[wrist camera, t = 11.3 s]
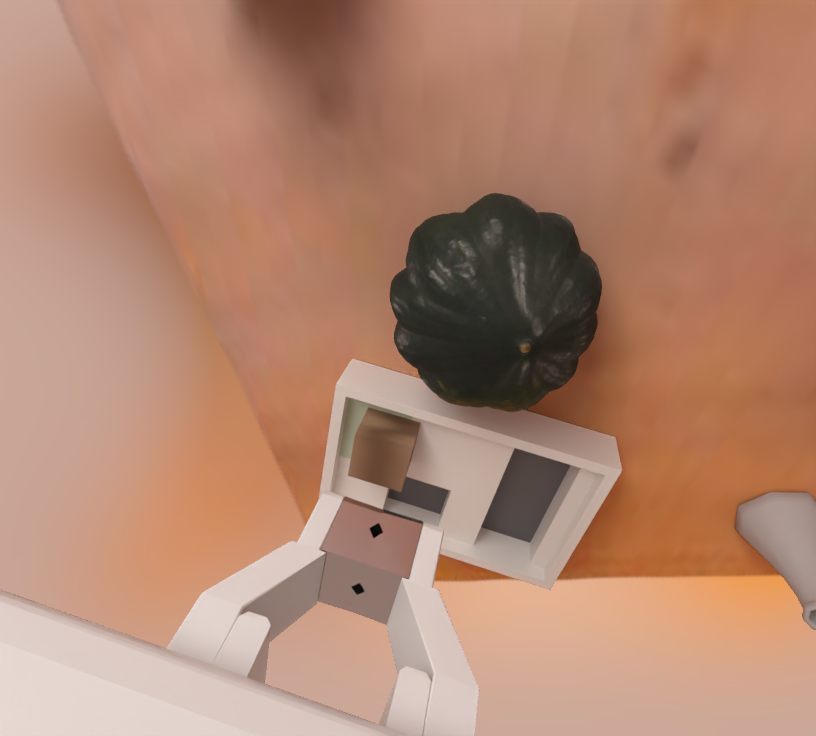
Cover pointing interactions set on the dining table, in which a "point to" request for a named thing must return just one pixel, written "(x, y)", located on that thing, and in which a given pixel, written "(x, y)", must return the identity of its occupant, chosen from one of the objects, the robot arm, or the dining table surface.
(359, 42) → the dining table surface
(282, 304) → the dining table surface
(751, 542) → the flask
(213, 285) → the dining table surface
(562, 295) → the squash
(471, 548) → the track
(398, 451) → the walnut block
